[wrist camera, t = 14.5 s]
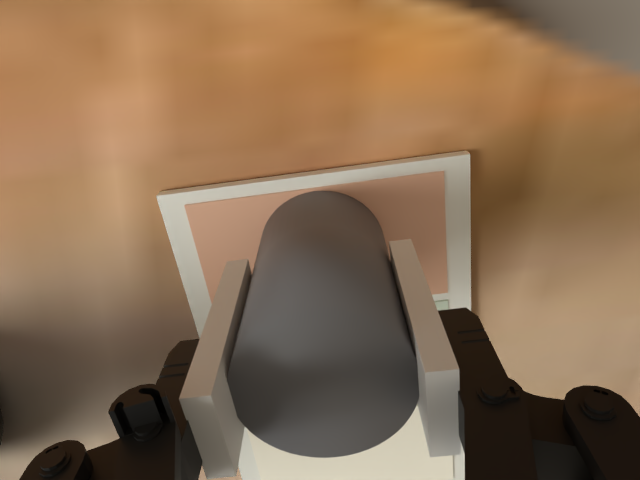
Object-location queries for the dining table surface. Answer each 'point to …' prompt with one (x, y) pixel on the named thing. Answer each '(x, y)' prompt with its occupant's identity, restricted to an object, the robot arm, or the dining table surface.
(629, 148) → the dining table surface
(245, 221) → the game board
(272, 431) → the grey capsule
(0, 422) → the cola bottle
